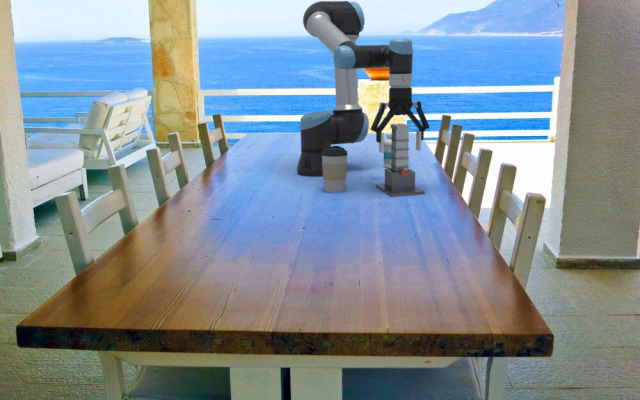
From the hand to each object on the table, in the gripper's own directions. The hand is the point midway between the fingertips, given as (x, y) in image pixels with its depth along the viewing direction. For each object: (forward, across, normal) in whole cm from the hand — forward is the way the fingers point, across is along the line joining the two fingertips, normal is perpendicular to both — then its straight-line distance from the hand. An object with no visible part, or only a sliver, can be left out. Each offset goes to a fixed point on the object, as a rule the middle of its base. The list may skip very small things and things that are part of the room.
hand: (399, 151), depth 231 cm
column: (+12, 0, 0) cm, 12 cm away
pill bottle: (+14, +12, +42) cm, 46 cm away
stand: (+14, 0, 0) cm, 14 cm away
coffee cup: (+14, -21, +7) cm, 26 cm away
